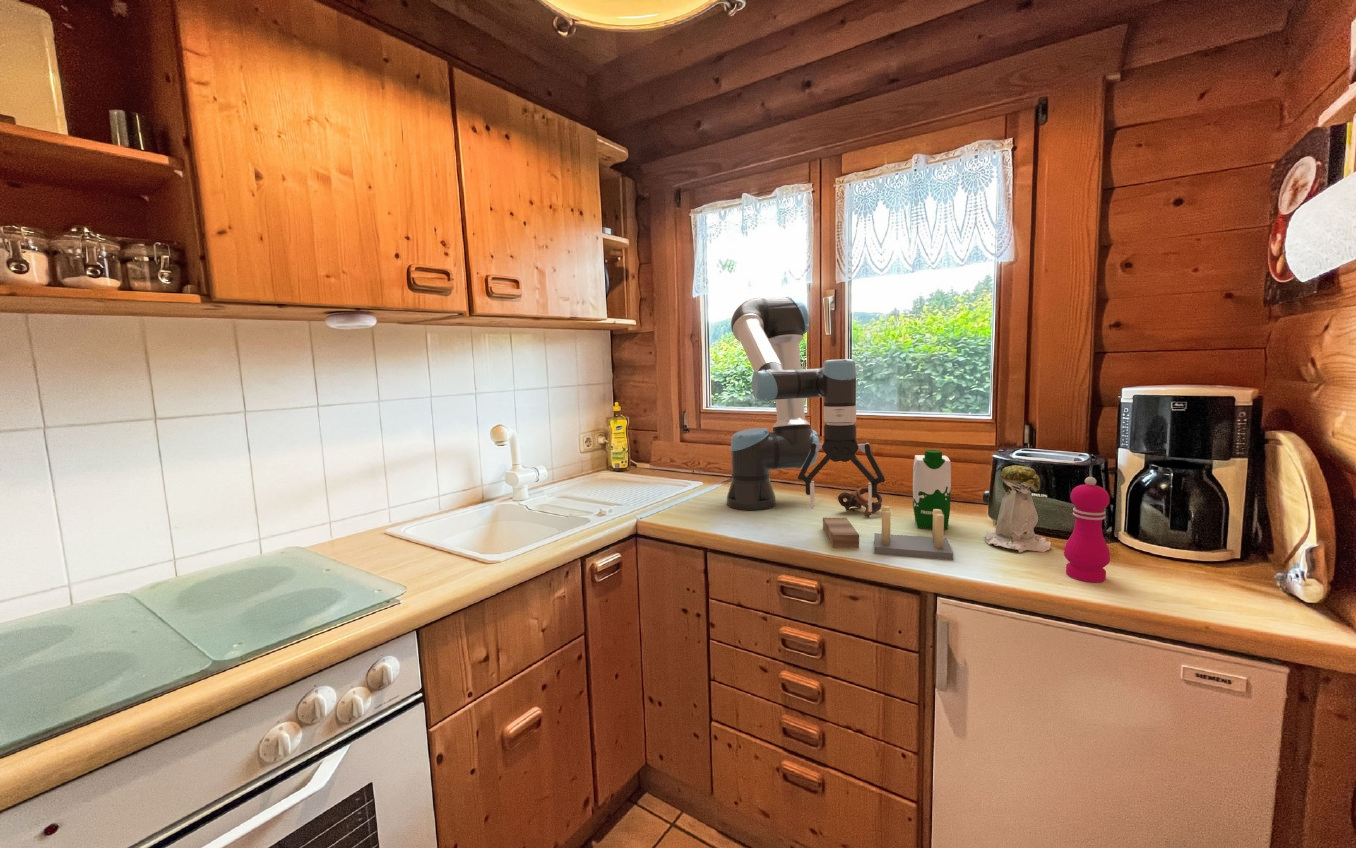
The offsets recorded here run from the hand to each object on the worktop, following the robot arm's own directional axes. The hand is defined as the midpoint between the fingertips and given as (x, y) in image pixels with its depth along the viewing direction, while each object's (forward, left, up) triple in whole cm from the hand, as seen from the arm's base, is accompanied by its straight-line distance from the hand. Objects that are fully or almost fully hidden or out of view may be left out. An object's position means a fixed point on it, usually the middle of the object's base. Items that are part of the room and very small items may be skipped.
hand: (840, 509), depth 130 cm
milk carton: (+22, +16, -8) cm, 28 cm away
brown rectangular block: (0, 0, -8) cm, 8 cm away
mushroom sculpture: (+39, +5, -8) cm, 40 cm away
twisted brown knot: (+4, +24, -8) cm, 26 cm away
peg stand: (+16, -4, -8) cm, 18 cm away
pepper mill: (+47, -12, -8) cm, 49 cm away
